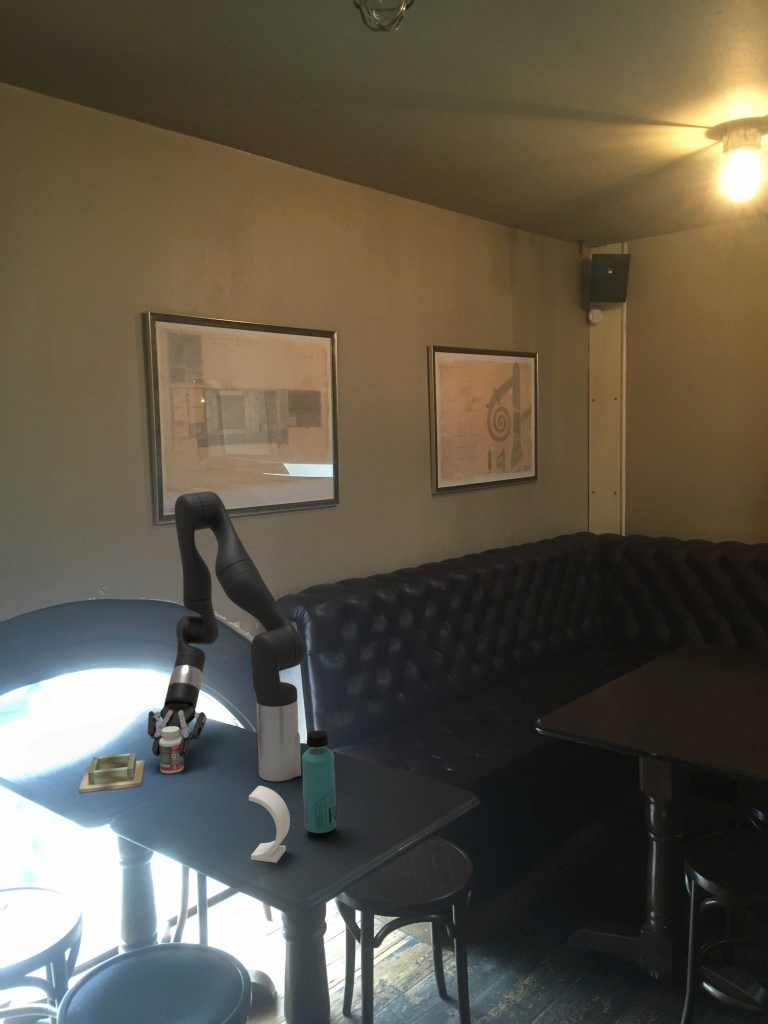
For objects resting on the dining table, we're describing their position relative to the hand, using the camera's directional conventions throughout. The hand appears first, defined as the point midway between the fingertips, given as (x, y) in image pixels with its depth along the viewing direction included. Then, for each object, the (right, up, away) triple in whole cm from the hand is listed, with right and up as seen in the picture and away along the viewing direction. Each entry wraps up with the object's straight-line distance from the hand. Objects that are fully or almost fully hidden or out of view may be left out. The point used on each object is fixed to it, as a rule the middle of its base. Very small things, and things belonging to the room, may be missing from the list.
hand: (168, 755), depth 186 cm
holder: (-12, -5, -2) cm, 13 cm away
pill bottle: (0, -4, +2) cm, 5 cm away
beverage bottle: (+37, -6, -29) cm, 48 cm away
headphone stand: (+29, -7, -37) cm, 48 cm away
